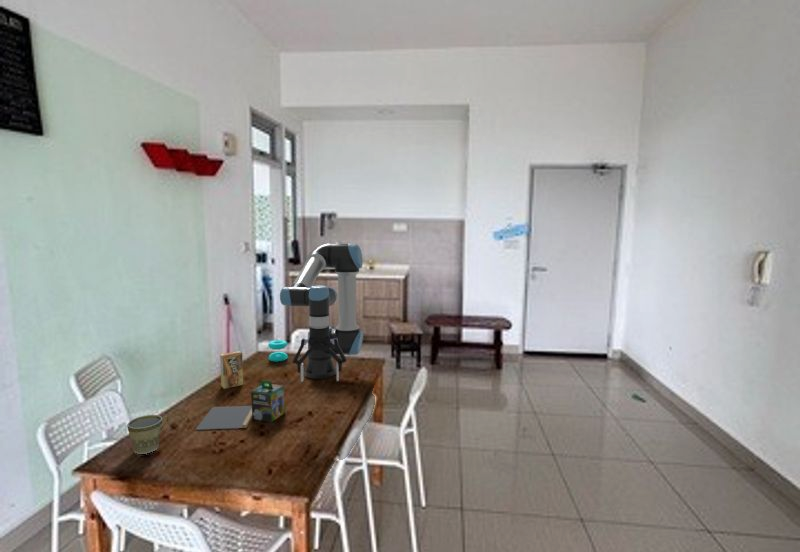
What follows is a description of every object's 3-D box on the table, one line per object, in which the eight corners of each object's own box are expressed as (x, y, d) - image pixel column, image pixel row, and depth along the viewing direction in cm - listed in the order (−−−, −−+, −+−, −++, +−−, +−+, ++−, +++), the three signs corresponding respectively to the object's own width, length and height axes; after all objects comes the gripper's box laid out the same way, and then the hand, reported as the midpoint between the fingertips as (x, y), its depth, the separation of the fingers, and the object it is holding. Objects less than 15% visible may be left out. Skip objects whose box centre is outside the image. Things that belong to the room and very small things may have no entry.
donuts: (283, 344, 240) (265, 344, 241) (283, 362, 242) (265, 362, 243) (289, 339, 250) (272, 339, 251) (290, 357, 251) (272, 356, 252)
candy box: (240, 382, 212) (239, 350, 210) (243, 384, 208) (242, 352, 206) (221, 386, 206) (219, 354, 204) (224, 389, 203) (222, 356, 201)
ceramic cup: (139, 461, 142) (137, 430, 140) (123, 452, 147) (120, 423, 146) (178, 444, 153) (177, 415, 151) (161, 436, 158) (160, 409, 157)
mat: (258, 406, 184) (258, 402, 184) (246, 428, 164) (246, 424, 164) (212, 407, 182) (212, 404, 182) (195, 430, 163) (195, 426, 162)
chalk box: (285, 413, 177) (284, 377, 176) (271, 423, 169) (270, 385, 167) (265, 410, 180) (264, 374, 179) (251, 419, 172) (249, 382, 170)
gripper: (352, 323, 177) (352, 376, 179) (287, 324, 175) (288, 377, 177) (351, 328, 170) (352, 382, 172) (284, 329, 167) (285, 384, 170)
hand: (320, 380), depth 175 cm, fingers open, 13 cm apart
